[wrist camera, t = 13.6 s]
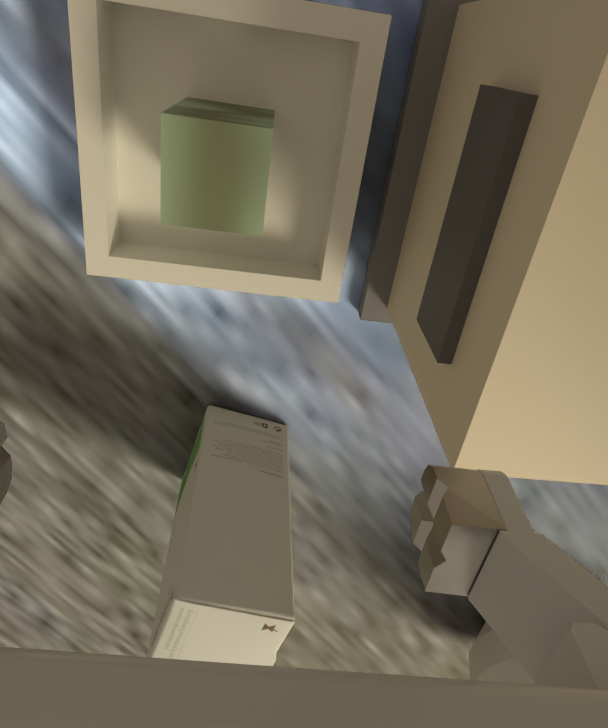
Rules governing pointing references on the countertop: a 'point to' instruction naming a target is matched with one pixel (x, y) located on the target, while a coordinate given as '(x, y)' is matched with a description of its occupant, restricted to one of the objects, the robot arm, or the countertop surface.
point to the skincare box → (229, 547)
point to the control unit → (503, 234)
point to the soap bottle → (495, 660)
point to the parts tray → (235, 86)
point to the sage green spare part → (215, 165)
